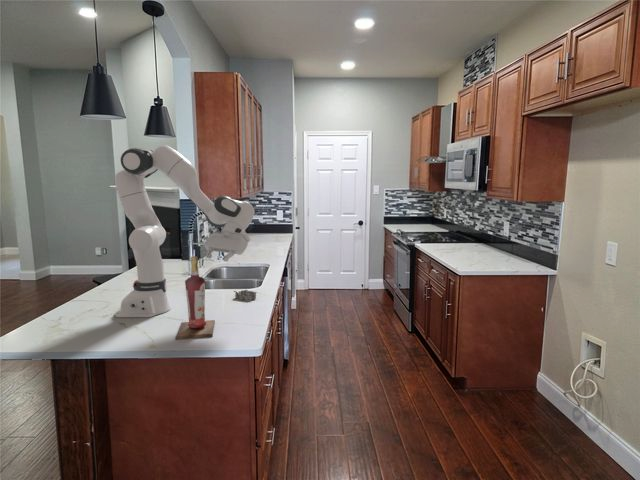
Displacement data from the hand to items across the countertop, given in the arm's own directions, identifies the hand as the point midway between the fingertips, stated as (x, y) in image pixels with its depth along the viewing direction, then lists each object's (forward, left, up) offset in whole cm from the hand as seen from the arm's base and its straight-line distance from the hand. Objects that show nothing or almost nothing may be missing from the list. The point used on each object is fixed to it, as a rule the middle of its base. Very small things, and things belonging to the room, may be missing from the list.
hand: (216, 259), depth 163 cm
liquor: (-8, -12, -25) cm, 28 cm away
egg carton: (+12, +28, -26) cm, 41 cm away
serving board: (-8, -12, -26) cm, 30 cm away
